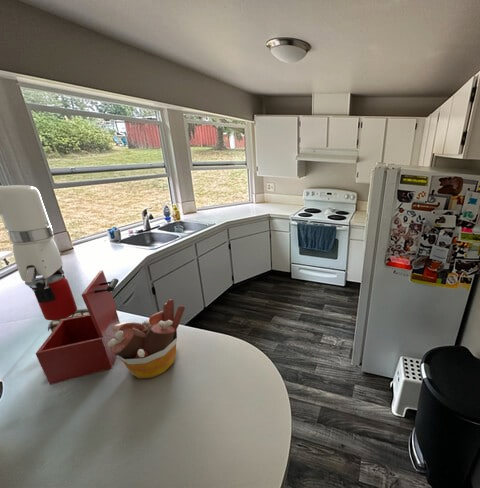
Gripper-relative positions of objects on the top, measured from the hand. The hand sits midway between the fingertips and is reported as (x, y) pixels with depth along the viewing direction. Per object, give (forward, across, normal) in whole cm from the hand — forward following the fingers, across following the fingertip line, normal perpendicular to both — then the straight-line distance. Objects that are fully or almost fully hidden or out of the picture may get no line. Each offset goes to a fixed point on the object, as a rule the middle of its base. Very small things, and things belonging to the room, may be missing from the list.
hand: (54, 294), depth 70 cm
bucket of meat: (+28, +7, +21) cm, 35 cm away
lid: (+8, -5, +7) cm, 12 cm away
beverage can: (+7, 0, 0) cm, 7 cm away
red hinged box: (+27, -5, +1) cm, 28 cm away
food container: (+28, -19, -6) cm, 34 cm away
